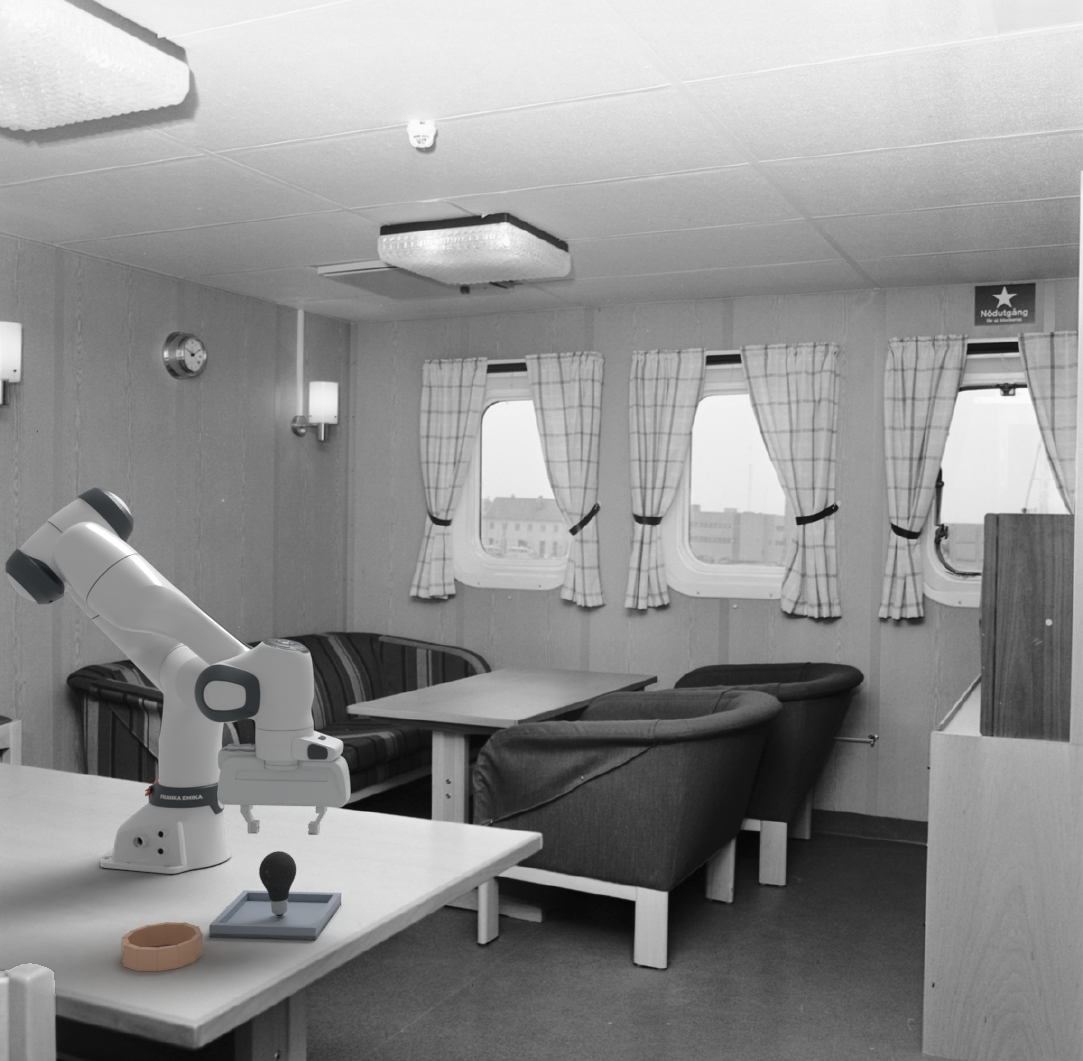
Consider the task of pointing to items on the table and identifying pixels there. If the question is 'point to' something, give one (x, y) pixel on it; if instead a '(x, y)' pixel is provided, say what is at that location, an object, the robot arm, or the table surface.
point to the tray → (258, 921)
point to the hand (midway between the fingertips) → (283, 833)
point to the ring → (149, 958)
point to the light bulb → (278, 879)
